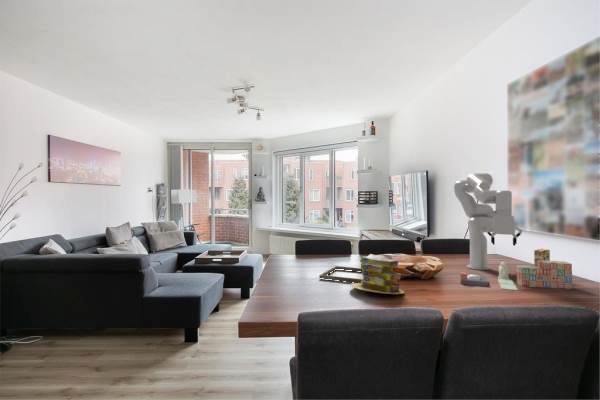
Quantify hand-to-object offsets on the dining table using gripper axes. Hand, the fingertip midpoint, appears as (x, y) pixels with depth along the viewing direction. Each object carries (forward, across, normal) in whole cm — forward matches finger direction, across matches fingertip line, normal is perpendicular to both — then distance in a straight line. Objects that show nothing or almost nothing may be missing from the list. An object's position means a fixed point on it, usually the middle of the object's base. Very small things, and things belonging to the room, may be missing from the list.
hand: (503, 244), depth 179 cm
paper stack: (+19, -57, -54) cm, 81 cm away
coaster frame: (+18, -77, -31) cm, 85 cm away
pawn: (+18, 0, 0) cm, 18 cm away
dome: (+17, -15, -16) cm, 28 cm away
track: (+18, 0, -14) cm, 23 cm away
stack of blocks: (+19, +16, -9) cm, 26 cm away
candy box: (+18, +19, +10) cm, 28 cm away
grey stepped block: (+18, -15, -16) cm, 29 cm away
